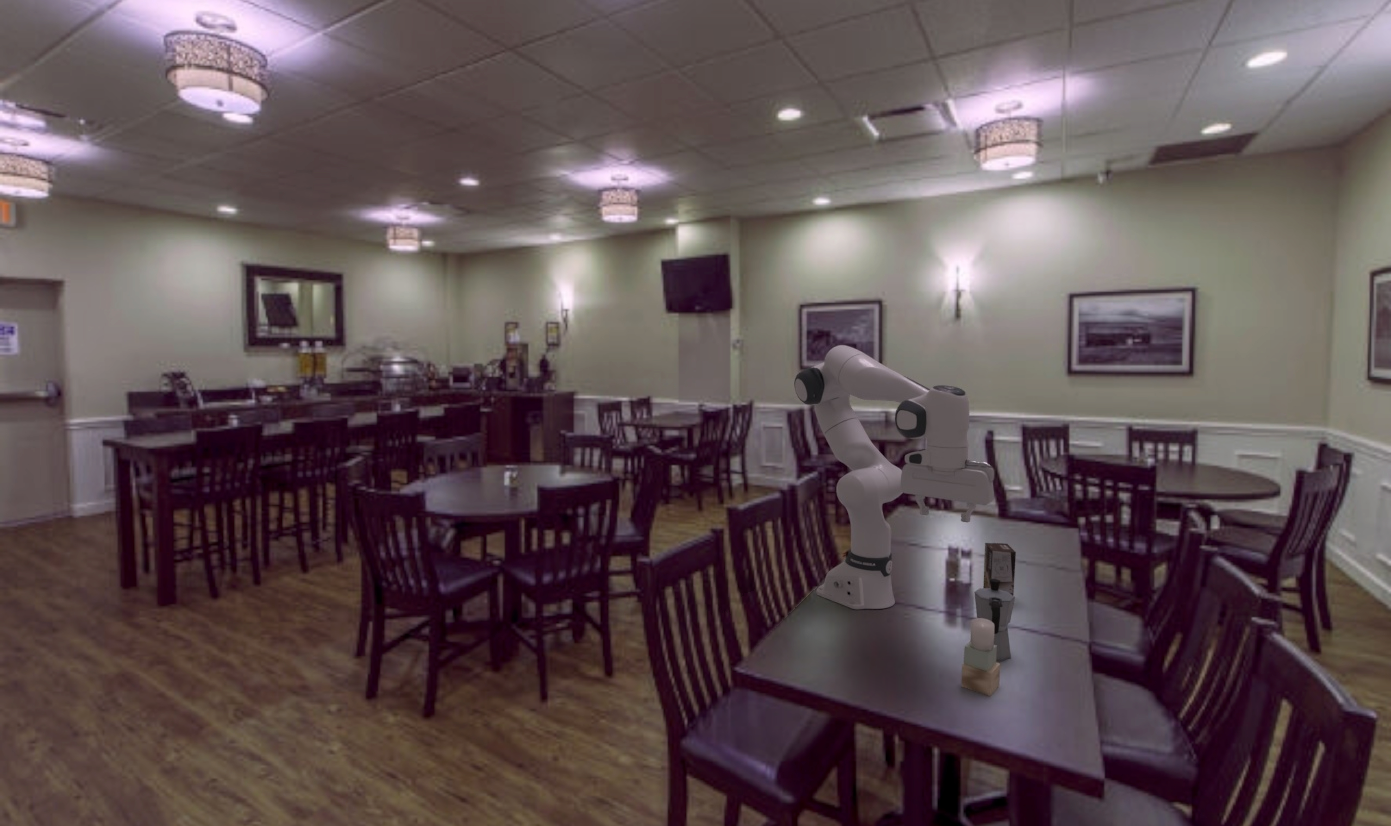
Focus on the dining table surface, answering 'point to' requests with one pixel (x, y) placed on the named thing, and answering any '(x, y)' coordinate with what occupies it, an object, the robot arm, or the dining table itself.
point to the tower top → (979, 657)
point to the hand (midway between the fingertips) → (944, 518)
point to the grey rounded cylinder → (982, 634)
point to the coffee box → (999, 566)
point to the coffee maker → (996, 614)
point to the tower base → (981, 679)
